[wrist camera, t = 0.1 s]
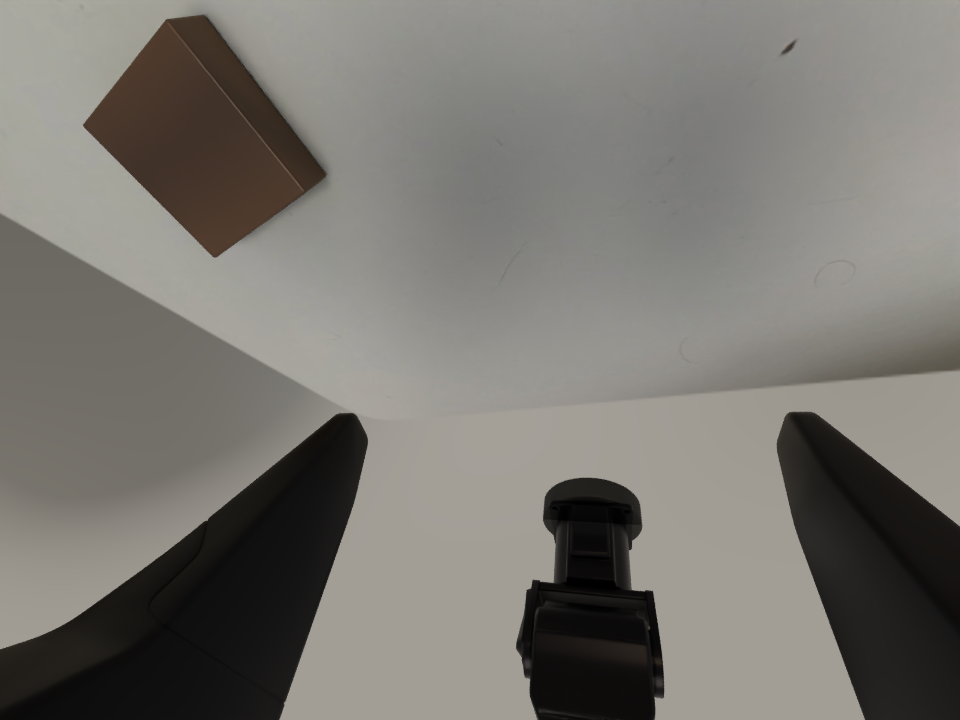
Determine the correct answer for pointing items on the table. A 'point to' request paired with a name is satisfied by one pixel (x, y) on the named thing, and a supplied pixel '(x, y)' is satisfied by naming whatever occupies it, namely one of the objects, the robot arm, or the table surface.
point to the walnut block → (202, 136)
